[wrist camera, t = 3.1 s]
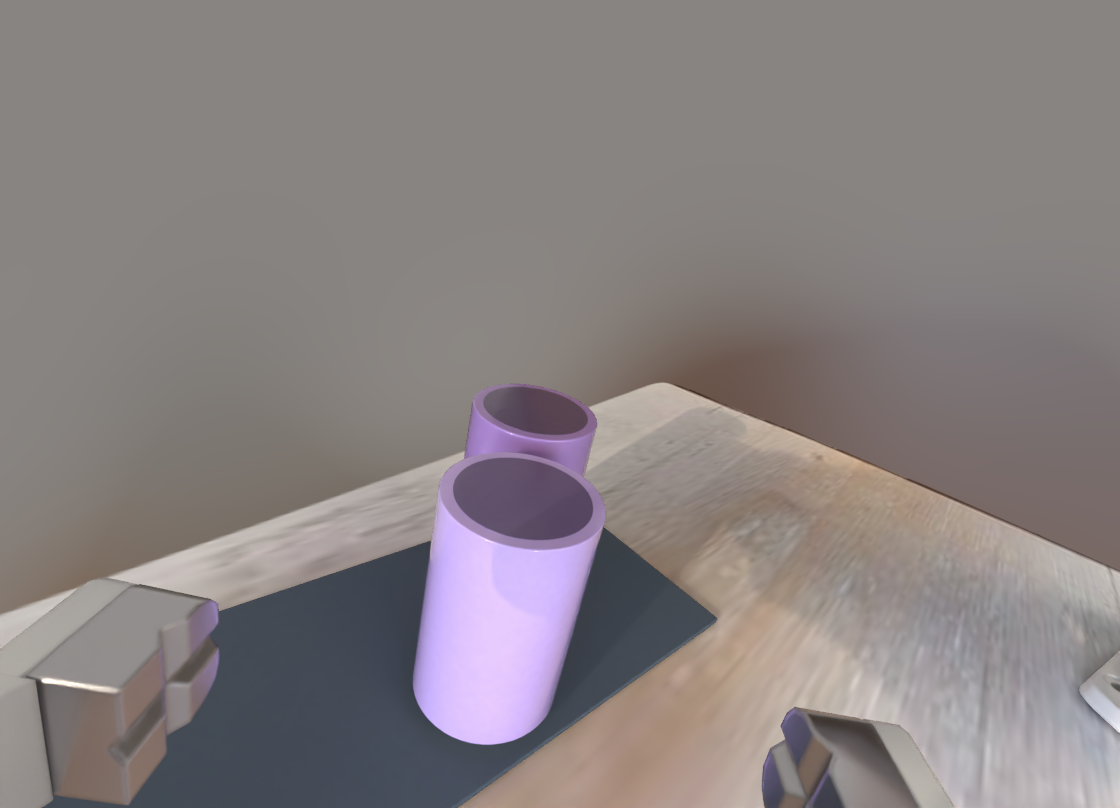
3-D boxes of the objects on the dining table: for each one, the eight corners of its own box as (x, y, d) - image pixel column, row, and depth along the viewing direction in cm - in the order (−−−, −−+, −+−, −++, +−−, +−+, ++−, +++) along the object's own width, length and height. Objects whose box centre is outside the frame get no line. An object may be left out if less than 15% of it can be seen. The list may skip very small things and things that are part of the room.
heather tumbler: (513, 522, 36) (543, 377, 32) (579, 583, 32) (623, 427, 28) (426, 552, 32) (448, 390, 28) (490, 627, 28) (526, 450, 24)
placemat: (563, 499, 40) (564, 495, 40) (716, 622, 32) (717, 618, 32) (-102, 725, 19) (-104, 719, 19) (-155, 1247, 11) (-160, 1243, 11)
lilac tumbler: (499, 611, 29) (535, 440, 25) (581, 703, 25) (640, 518, 21) (385, 665, 25) (406, 470, 21) (462, 786, 21) (507, 574, 17)
